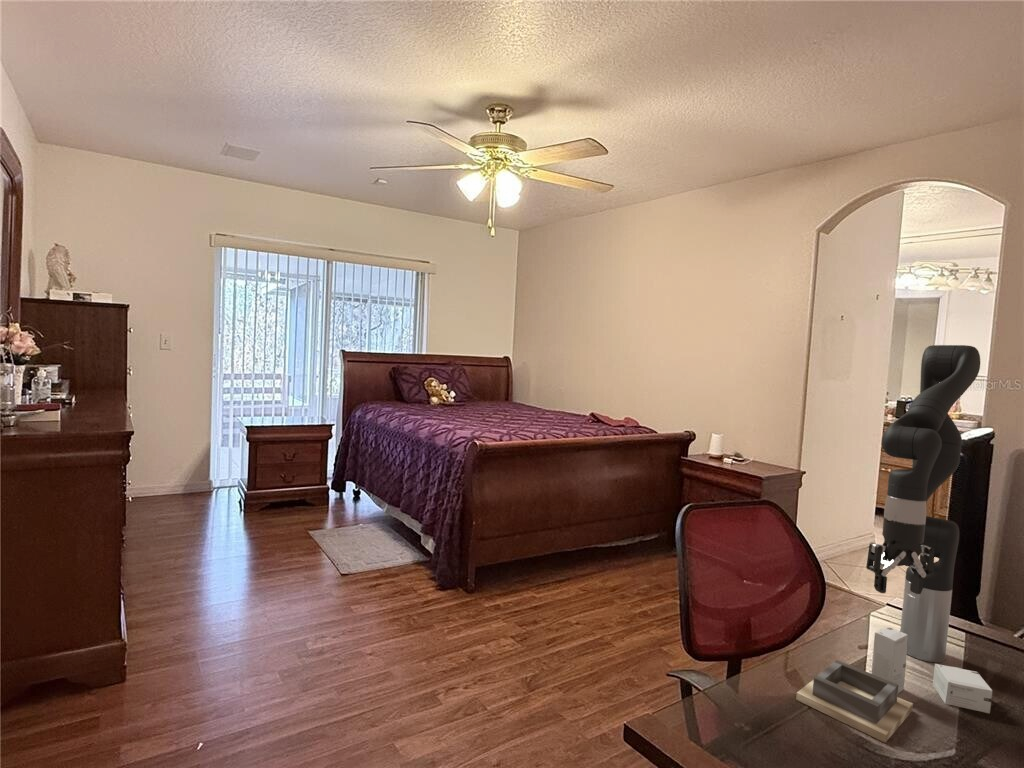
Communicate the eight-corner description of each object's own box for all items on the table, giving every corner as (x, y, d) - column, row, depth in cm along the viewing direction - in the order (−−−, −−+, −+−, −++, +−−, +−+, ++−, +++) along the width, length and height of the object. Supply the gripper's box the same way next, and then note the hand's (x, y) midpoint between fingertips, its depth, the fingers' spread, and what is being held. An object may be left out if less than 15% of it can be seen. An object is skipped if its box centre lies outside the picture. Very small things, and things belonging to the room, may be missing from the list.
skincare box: (891, 698, 121) (896, 641, 120) (868, 686, 124) (873, 632, 124) (905, 689, 124) (910, 634, 123) (882, 679, 128) (887, 625, 127)
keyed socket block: (827, 674, 129) (829, 652, 128) (912, 710, 116) (914, 686, 116) (796, 699, 118) (798, 676, 118) (885, 742, 106) (887, 716, 106)
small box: (944, 705, 119) (947, 681, 119) (931, 684, 127) (934, 662, 127) (990, 715, 117) (993, 690, 117) (974, 693, 124) (977, 670, 124)
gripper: (919, 515, 131) (912, 587, 131) (862, 512, 129) (855, 585, 129) (948, 524, 123) (941, 600, 123) (888, 521, 121) (881, 598, 121)
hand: (897, 592), depth 126 cm, fingers open, 8 cm apart
